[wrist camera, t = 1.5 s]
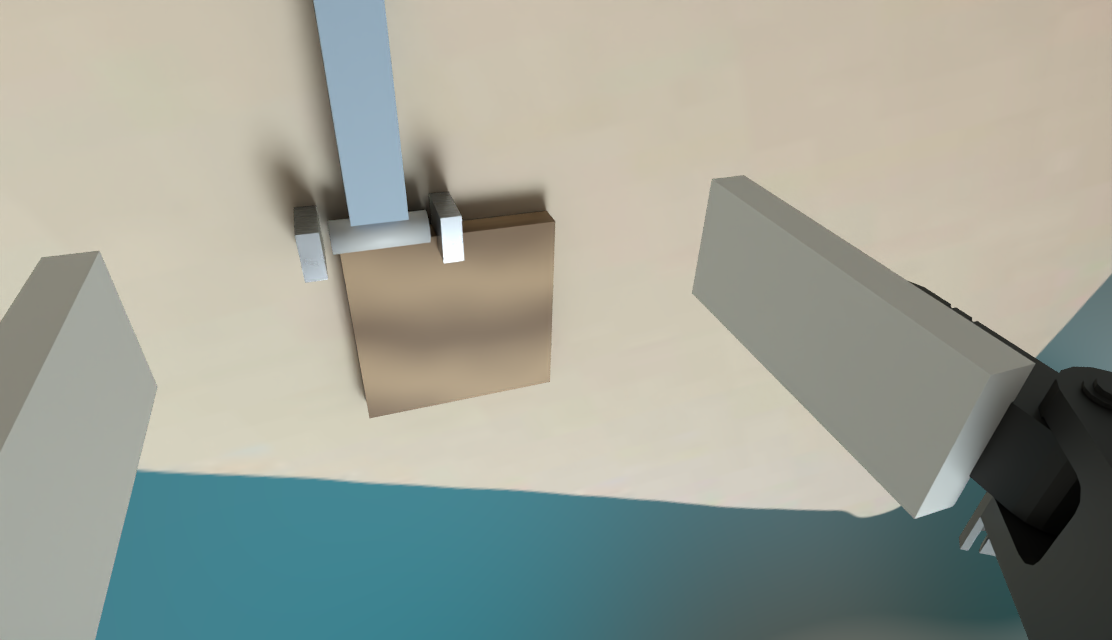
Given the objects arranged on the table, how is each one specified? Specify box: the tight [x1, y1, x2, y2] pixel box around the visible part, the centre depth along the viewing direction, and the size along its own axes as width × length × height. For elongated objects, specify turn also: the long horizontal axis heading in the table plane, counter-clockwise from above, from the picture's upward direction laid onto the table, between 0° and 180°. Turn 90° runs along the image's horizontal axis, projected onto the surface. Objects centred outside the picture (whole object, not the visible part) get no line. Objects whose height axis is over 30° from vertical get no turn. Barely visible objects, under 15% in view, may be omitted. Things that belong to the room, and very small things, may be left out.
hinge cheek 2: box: [429, 192, 464, 263], centre depth 32 cm, size 2×1×3 cm, turn 178°
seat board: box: [340, 211, 555, 418], centre depth 36 cm, size 11×11×1 cm
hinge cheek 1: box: [294, 206, 328, 283], centre depth 30 cm, size 2×1×3 cm, turn 178°
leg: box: [313, 0, 431, 255], centre depth 28 cm, size 12×5×3 cm, turn 178°
